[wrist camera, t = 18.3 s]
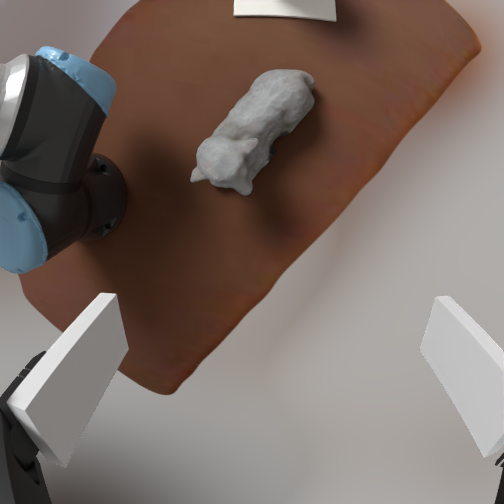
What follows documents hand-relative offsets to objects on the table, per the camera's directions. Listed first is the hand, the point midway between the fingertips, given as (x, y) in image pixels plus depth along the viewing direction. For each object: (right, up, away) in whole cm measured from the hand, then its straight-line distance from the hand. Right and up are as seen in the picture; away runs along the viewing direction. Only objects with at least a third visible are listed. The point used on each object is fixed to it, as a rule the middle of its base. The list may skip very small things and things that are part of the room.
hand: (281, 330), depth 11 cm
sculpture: (0, +21, +32) cm, 38 cm away
